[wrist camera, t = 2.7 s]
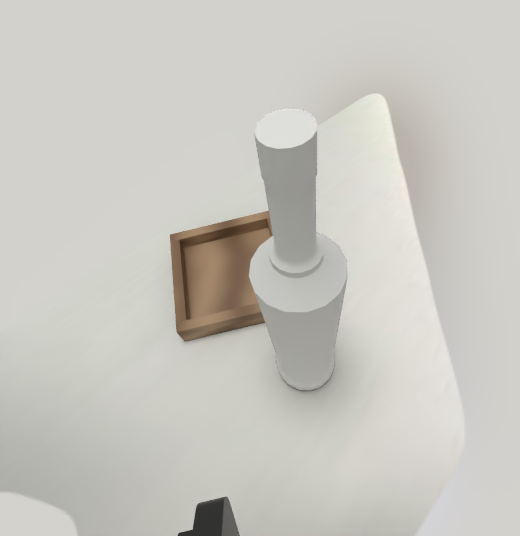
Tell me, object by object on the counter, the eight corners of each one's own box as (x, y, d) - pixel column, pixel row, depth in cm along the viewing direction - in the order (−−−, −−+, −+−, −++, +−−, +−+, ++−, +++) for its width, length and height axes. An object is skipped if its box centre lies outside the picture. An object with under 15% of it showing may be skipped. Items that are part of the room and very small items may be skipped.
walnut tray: (184, 341, 35) (176, 332, 33) (177, 247, 42) (169, 234, 40) (301, 313, 35) (301, 302, 33) (275, 223, 42) (273, 209, 40)
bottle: (285, 331, 34) (235, 79, 13) (338, 343, 33) (378, 84, 12) (270, 384, 32) (182, 175, 11) (328, 400, 30) (355, 195, 9)
